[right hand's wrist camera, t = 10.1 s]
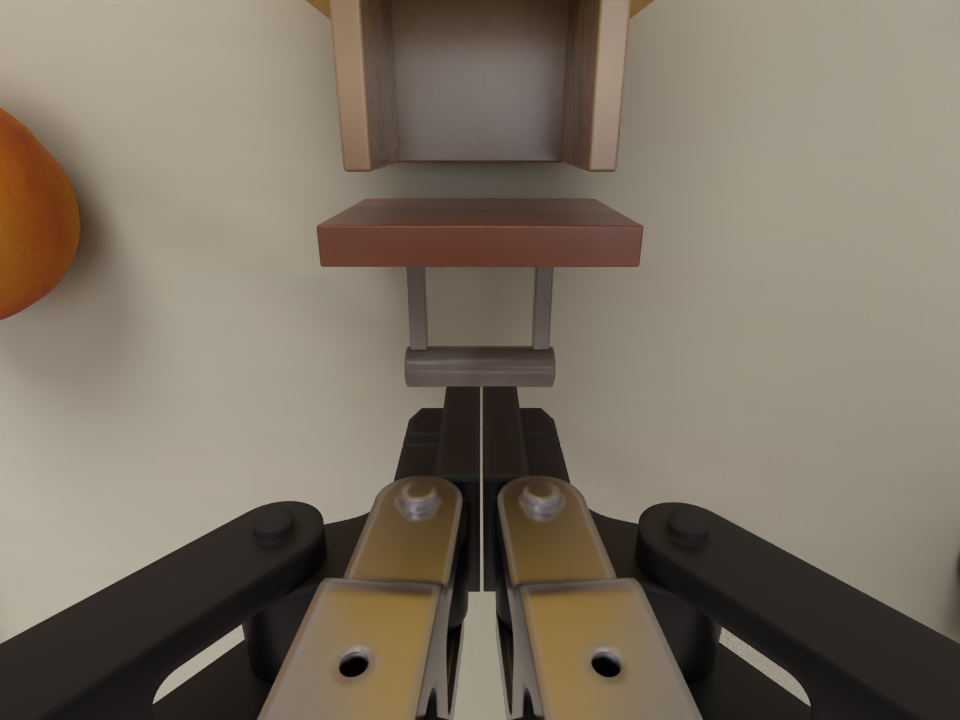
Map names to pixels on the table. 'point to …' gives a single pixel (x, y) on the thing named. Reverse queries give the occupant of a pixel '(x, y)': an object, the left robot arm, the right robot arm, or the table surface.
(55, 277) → the fruit
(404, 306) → the table surface
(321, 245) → the drawer
